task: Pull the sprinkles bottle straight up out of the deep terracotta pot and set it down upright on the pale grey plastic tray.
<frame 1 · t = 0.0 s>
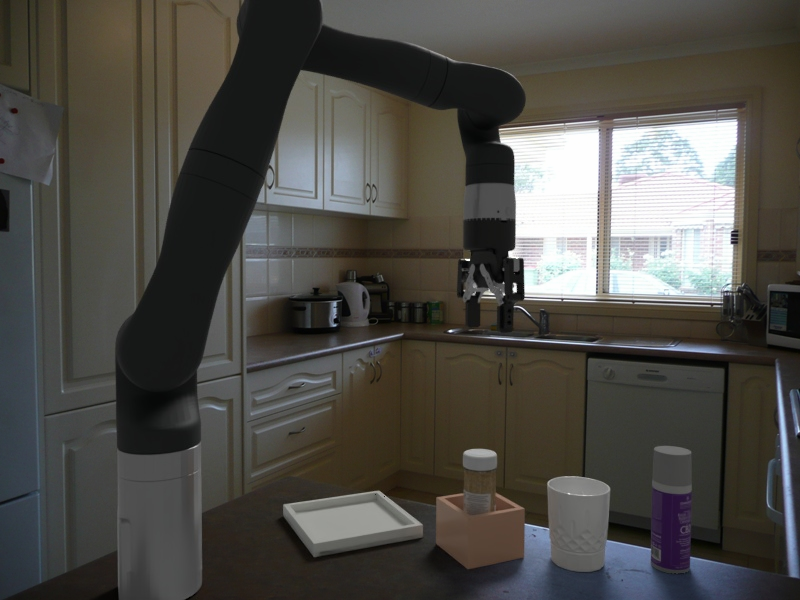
hand: (488, 329, 94), 29 cm above the countertop, tool pointing down, fingers open, 8 cm apart
white cup: (577, 562, 84), on the countertop
container: (670, 567, 83), on the countertop
tray: (350, 526, 96), on the countertop
sprinkles bottle: (479, 551, 88), resting in pot
pot: (479, 550, 88), on the countertop
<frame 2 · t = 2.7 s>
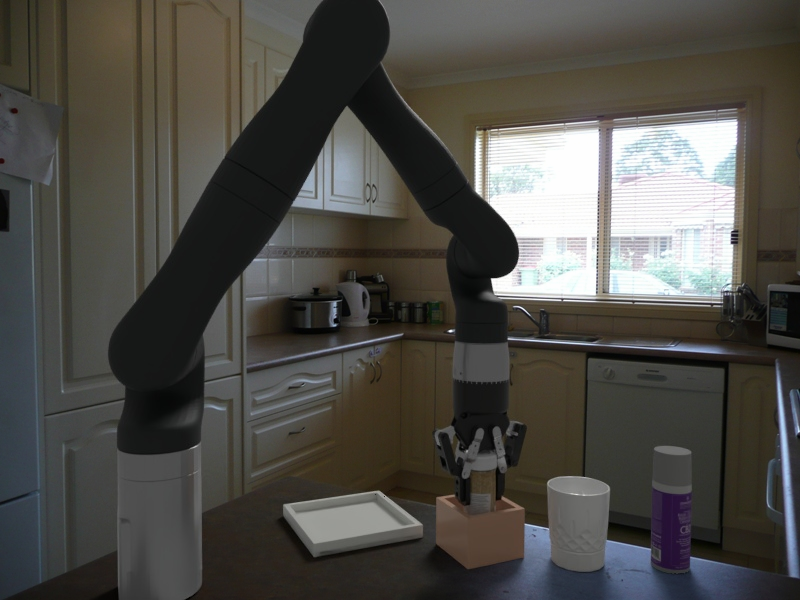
hand: (479, 500, 87), 7 cm above the countertop, tool pointing down, fingers closed on sprinkles bottle, 4 cm apart
sprinkles bottle: (479, 551, 88), resting in pot, touching gripper
everything else where it was.
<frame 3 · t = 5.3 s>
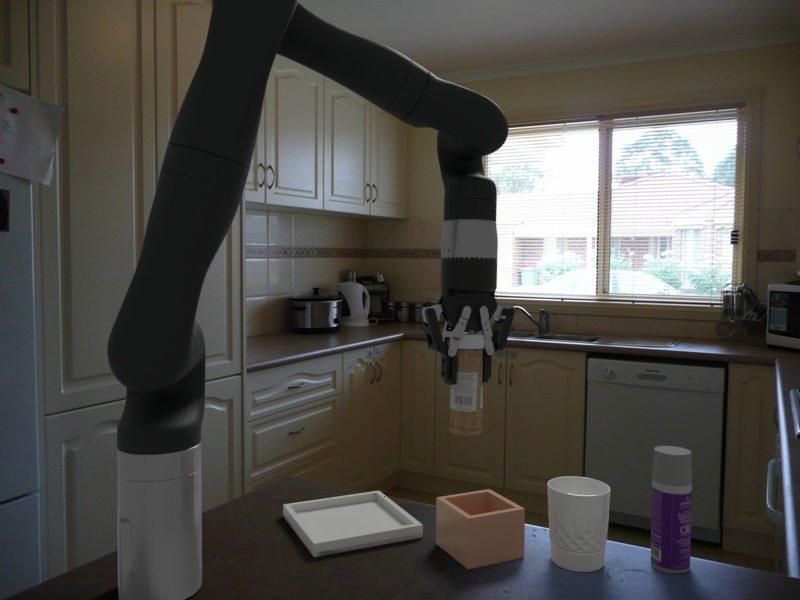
hand: (466, 382, 87), 23 cm above the countertop, tool pointing down, fingers closed on sprinkles bottle, 4 cm apart
sprinkles bottle: (465, 434, 87), point 16 cm above the countertop, touching gripper
everything else where it was.
when the fingers open (9 cm above the countertop, at t = 8.3 s): sprinkles bottle drops 1 cm, resting on tray.
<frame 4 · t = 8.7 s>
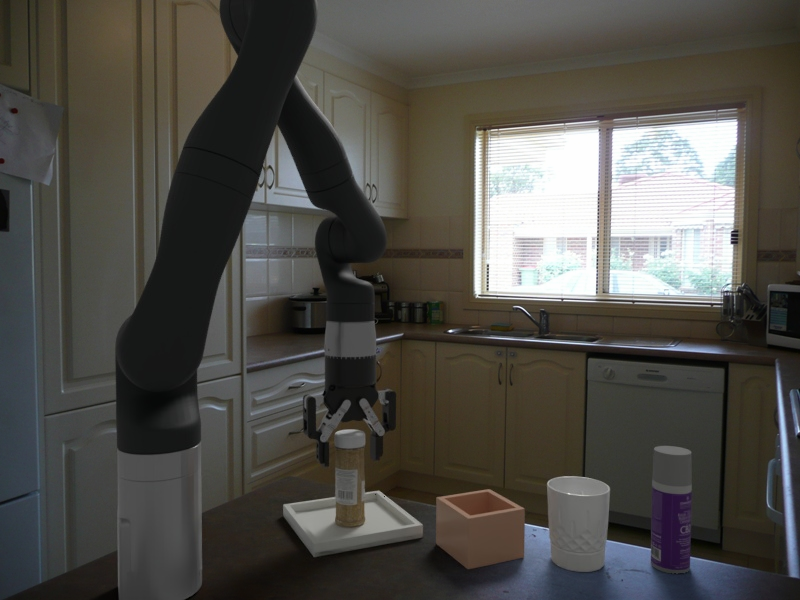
hand: (350, 462, 95), 10 cm above the countertop, tool pointing down, fingers open, 7 cm apart
sprinkles bottle: (349, 523, 96), resting on tray
everything else where it was.
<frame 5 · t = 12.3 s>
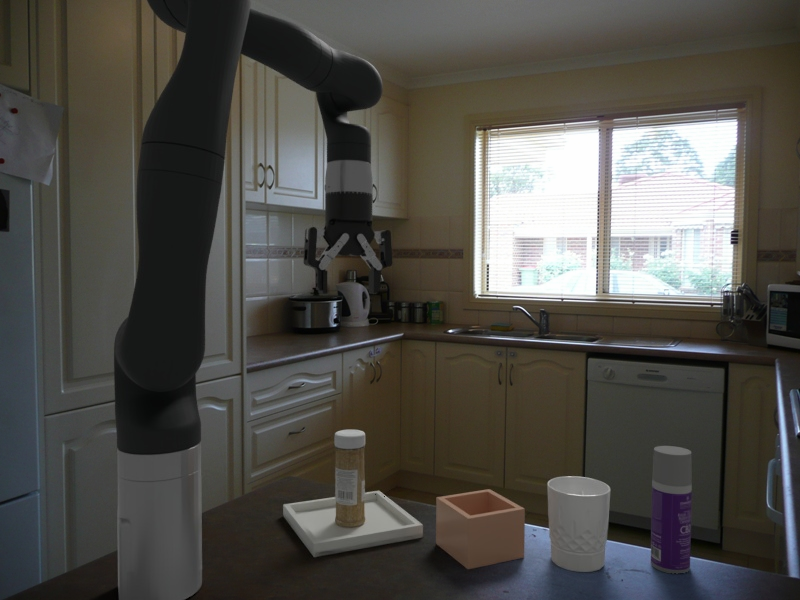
hand: (348, 293, 104), 34 cm above the countertop, tool pointing down, fingers open, 8 cm apart
nothing on the countertop moved.
at the end: sprinkles bottle inside the target area on the tray (0.0 cm from its centre), point 0.4 cm above the tray's base; sprinkles bottle tilted 0°; the gripper is holding nothing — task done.
